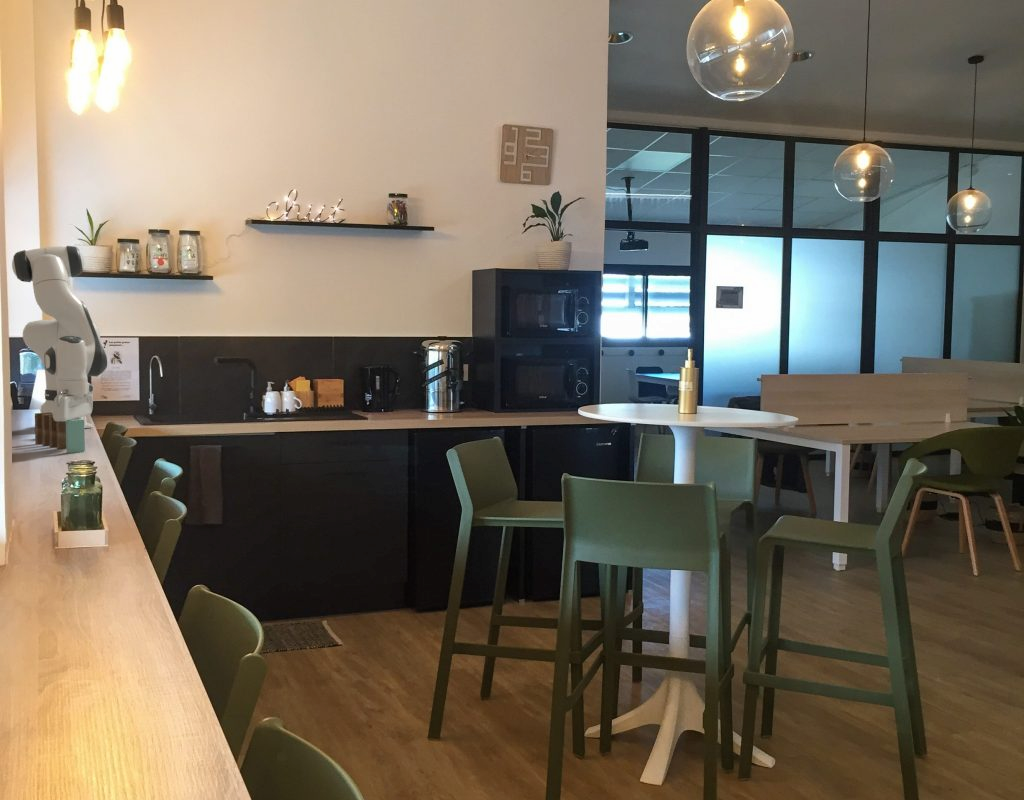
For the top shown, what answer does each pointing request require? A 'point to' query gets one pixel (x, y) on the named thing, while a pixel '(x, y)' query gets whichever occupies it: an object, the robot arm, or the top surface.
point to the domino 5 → (75, 436)
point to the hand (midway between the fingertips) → (73, 432)
